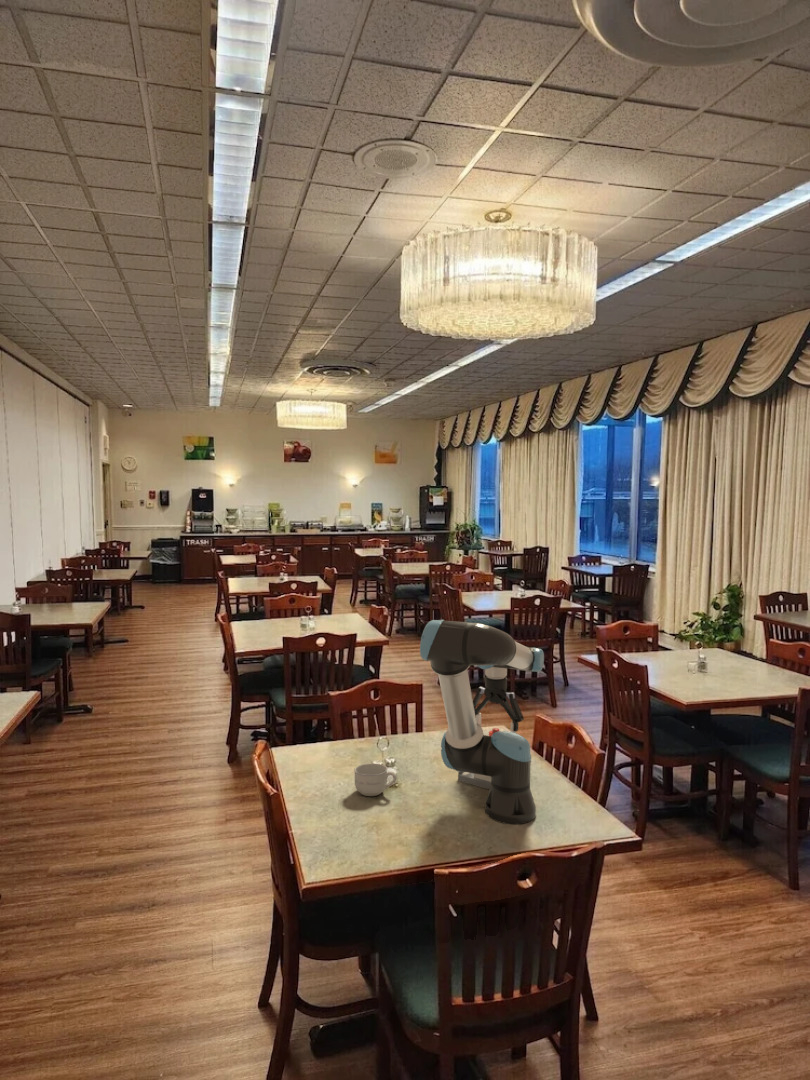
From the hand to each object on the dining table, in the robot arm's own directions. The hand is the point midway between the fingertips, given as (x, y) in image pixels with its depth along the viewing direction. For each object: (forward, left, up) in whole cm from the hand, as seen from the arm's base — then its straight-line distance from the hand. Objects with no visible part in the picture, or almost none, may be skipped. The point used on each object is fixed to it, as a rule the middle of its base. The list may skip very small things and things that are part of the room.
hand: (495, 736), depth 229 cm
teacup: (+23, +39, -12) cm, 47 cm away
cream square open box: (-4, +10, -10) cm, 15 cm away
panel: (-2, +3, -12) cm, 12 cm away
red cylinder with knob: (0, 0, -6) cm, 6 cm away
